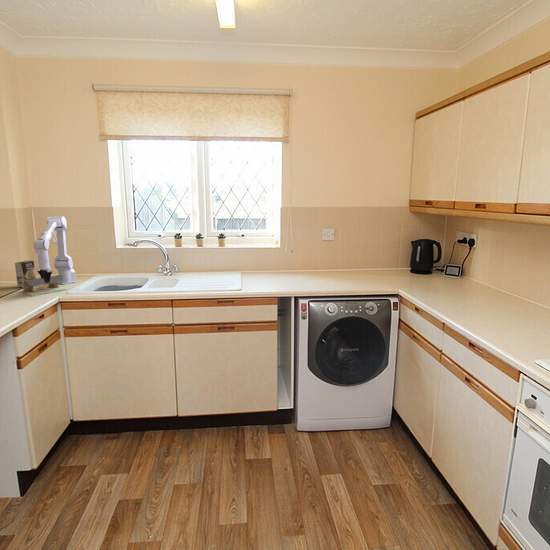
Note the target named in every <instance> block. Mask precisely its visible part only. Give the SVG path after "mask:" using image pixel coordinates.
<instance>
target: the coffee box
mask: <svg viewBox="0 0 550 550" xmlns="http://www.w3.org/2000/svg"><path fill="white" fill-rule="evenodd" d="M14 269H15V275H16V283H17V288H18V287H22V288H21V289H24V284H23V283H28V280H29V279H36V278H37V275H36V269H35V261H34V260H23V261H20V262H19V261H18V262H14Z"/></svg>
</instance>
